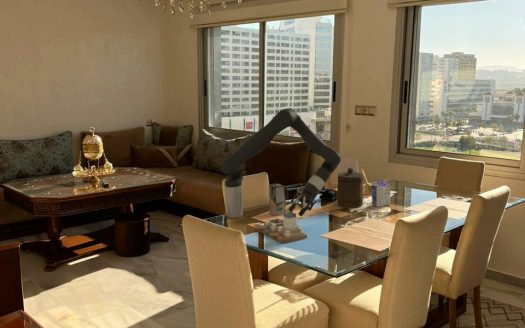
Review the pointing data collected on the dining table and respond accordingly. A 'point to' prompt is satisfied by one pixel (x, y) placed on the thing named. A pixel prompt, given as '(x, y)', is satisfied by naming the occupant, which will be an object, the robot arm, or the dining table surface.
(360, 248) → the dining table surface
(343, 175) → the wooden container
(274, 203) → the coffee box
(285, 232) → the socket board
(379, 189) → the ink cartridge box
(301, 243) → the dining table surface
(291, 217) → the plug
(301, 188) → the cup
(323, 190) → the end cap
